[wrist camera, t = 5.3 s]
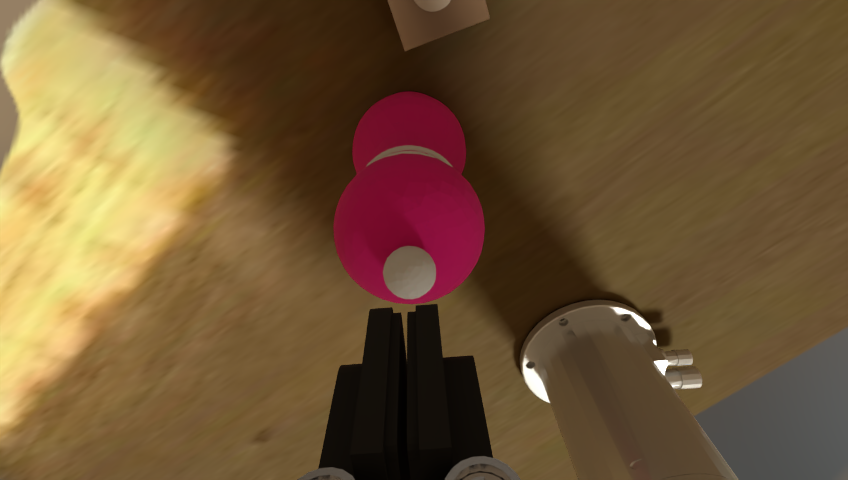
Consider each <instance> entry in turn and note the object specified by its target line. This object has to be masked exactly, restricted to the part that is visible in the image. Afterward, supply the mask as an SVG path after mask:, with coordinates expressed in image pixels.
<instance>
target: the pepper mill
mask: <svg viewBox="0 0 848 480" xmlns="http://www.w3.org/2000/svg"><path fill="white" fill-rule="evenodd" d="M352 154H353V163H354V167H355V170H356V173H357V175H356V176H355V177H354V178H353V179H352V180H351V182H350V183H349V184H348V185H347V186H346V188H345V190H344V192H343V193H342V195H341V197H340V199H339V202H338V205H337V208H336V212H335V218H334V226H333V228H334V241H335V245H336V250H337V254H338V256H339V258H340V260H341V262H342V264H343V267H344V268H345V270H346V271H347V272H348V274H349V275H350V277H351V278H352V279H353V280H354V281H355V282H356V283H357V284H359V285H360V286H361V287H362V288H363V289H365V290H366V291H368V292H370V293H371V294H373V295H375V296H377V297H379V298H381V299H384V300H387V301H390V302H394V303H403V304H418V303H425V302H429V301H432V300H435V299H438V298H440V297H442V296H444V295H446V294H448V293H450V292H451V291H453V290H454V289H455V288H456V287H458V286H459V285H460V284H461V283H463V281H464V280H465V279H466V278H467V277H468V276H469V275H470V273H471V272H472V270H473V268H474V267H475V265H476V264H477V262H478V259H479V257H480V254H481V251H482V247H483V242H484V234H485V225H484V215H483V211H482V207H481V204H480V201H479V199H478V196H477V194H476V193H475V191H474V189H473V188H472V186H471V184H470V183H469V182H468V181H467V180H466V179H465V178H464V177H463V176H462V175H461V174H462V172H463V169H464V166H465V161H466V145H465V137H464V134H463V130H462V128H461V126H460V123H459V121H458V120H457V118H456V117H455V115H454V114H453V113H452V112H451V111H450V109H449V108H448V107H447V106H445V105H444V104H443V103H441V102H440V101H438V100H436V99H434V98H433V97H430V96H428V95H426V94H422V93H419V92H412V91H404V92H399V93H396V94H393V95H390V96H387V97H385V98H383V99H382V100H380V101H378V102H376V103H375V104H374V105H373V106H371V107H370V108H369V109H368V110H367V112H366V113H365V114H364V115H363V117H362V118H361V120H360V121H359V124H358V126H357V128H356V131H355V135H354V140H353V150H352Z"/></svg>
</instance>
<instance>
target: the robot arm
mask: <svg viewBox="0 0 848 480" xmlns="http://www.w3.org/2000/svg"><path fill="white" fill-rule="evenodd" d="M656 344H657V343H656V338H655V334H654V332H653V330H652V328H651V326H650V325H649V323H648V322H647V321H646V320H645V318H644V317H643V316H642V315H641V314H640V313H638V312H637V311H636V310H635V309H633V308H631V307H629V306H627V305H625V304H622V303H619V302H615V301H609V300H588V301H582V302H578V303H574V304H571V305H568V306H565V307H563V308H560V309H558V310H557V311H555V312H553V313H551V314H550V315H548V316H547V317H545V318H544V319H543V320H542V321H540V322H539V323H538V324H537V325H536V326H535V327H534V328H533V330H532V331H531V332H530V333H529V335H528V336H527V338H526V340H525V341H524V344H523V347H522V349H521V353H520V367H521V372H522V375H523V378H524V381H525V383H526V384H527V386H528V388H529V389H530V390H531V391H532V392H533V393H534V394H535V395H536V396H537V397H539V398H540V399H542V400H543V401H545V402H548V403H550V404H551V407H552V410H553V412H554V415H555V418H556V420H557V423H558V426H559V429H560V431H561V434H562V437H563V439H564V442H565V445H566V448H567V450H568V453H569V456H570V458H571V461H572V464H573V467H574V469H575V472H576V475H577V477H578V480H738V478H737V477H736V475H735V474H734V473H733V471H732V470H731V468H730V467H729V466H728V464H727V463H726V461H725V460H724V459H723V457H722V456H721V454H720V453H719V452H718V450H717V449H716V447H715V446H714V445H713V443H712V442H711V440H710V439H709V438H708V436H707V435H706V433H705V432H704V431H703V429H702V428H701V426H700V425H699V424H698V422H697V421H696V419H695V418H694V417H693V415H692V414H691V412H690V411H689V410H688V408H687V407H686V405H685V404H684V403H683V401H682V400H681V398H680V397H679V396H678V394H677V393H676V391H675V390H674V388H677V389H691V388H699V387H701V385H702V377H701V374H700V372H699V370H698V369H697V368H696V367H695V366H688V367H675V368H672V369H666V367H667V366H669V365H675V366H680V365H691V364H692V363H693V357H692V354H691V352H690V351H689V350H688V349H683V350H671V351H666V352H664V351H663V350H662V349H660V348H659V349H658V348H657V346H656ZM298 480H520V478H519V476H518V475H517V473H516V472H515V471H514V470H513V469H512V468H510V467H509V466H508V465H507V464H505V463H503V462H501V461H500V460H498V459H495V458H493V455H492V450H491V445H490V440H489V434H488V429H487V424H486V419H485V414H484V408H483V403H482V398H481V393H480V387H479V382H478V377H477V372H476V367H475V362H474V357H473V356H460V357H446V358H443V356H442V346H441V336H440V326H439V316H438V306H437V304H432V305H418V306H416V312H408V315H407V359H406V350H405V341H404V333H403V324H402V316H401V313H393V309H392V308H378V309H370V311H369V318H368V325H367V333H366V340H365V347H364V355H363V362H362V364H352V365H341V366H340V368H339V371H338V375H337V380H336V385H335V389H334V394H333V399H332V404H331V409H330V414H329V419H328V424H327V429H326V434H325V439H324V444H323V449H322V454H321V459H320V464H319V469H317V470H314V471H311V472H308V473H307V474H305V475H304V476H302V477H301V478H299V479H298Z"/></svg>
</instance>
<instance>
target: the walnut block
mask: <svg viewBox="0 0 848 480" xmlns="http://www.w3.org/2000/svg"><path fill="white" fill-rule="evenodd" d="M388 3H389V6H390V9H391V12H392V15H393V18H394V21H395V24H396V27H397V30H398V33H399V36H400V39H401V41H402V44H403V47H404V50H405V51H407V50H410V49H412V48H415V47H418V46H420V45H423V44H425V43H428V42H431V41H433V40H436V39H438V38H441V37H444V36H446V35H449V34H451V33H454V32H457V31H459V30H462V29H464V28H467V27H470V26H472V25H475V24H477V23H480V22H483V21H485V20H488V19H490V17H489V12H488V8H487V4H486V0H388Z"/></svg>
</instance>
